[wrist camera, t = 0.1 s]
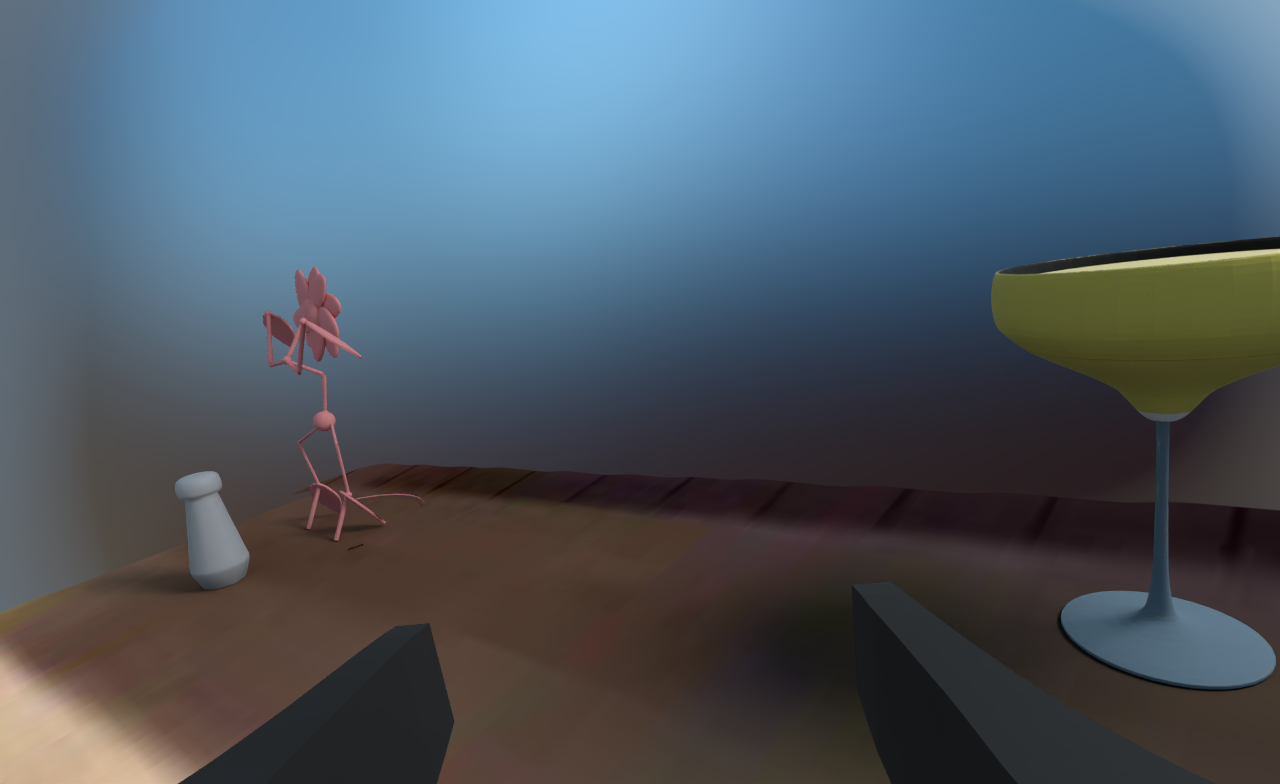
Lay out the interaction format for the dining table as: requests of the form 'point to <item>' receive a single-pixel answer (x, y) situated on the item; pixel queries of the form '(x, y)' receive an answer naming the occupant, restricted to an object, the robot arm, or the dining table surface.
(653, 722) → the dining table surface
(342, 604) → the dining table surface
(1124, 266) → the cocktail glass
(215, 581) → the salt shaker
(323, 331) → the figurine
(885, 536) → the dining table surface
